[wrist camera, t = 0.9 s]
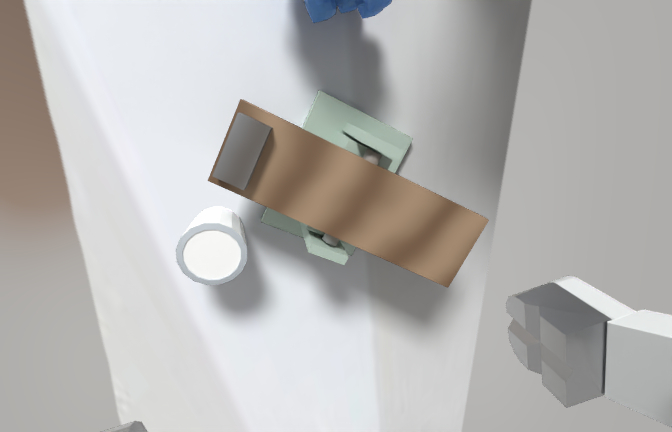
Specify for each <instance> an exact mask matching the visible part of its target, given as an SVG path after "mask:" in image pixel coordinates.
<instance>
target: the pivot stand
mask: <svg viewBox="0 0 672 432" xmlns="http://www.w3.org/2000/svg"><path fill="white" fill-rule="evenodd" d="M302 129H304V130H307V131H309V132H311V133H313V134H315V135H317V136H319V137H321V138H323V139H325V140H327V141H329V142H331V143H333V144H335V145H337V146H339V147H341V148H344V149H346V150H348V151H350V152H352V153H354V154H356V155H358V156H360V157H362V158H363V156H364V154H365V152H366V150H367V148H368V149H371V150H373V151H375V152H377V153H379V154H380V155H382V157H381V159H380V161H379V163H378V166H381V167H383V168H385V169H387V170H389V171H391V172H393V173H395V172H396V170H397V168H398V166H399V165H400V163H401V161H402V159H403V157H404V155H405V153H406V151H407V149H408V147H409V145H410V144H411V142H412V140H413V138H412V137H410V136H408V135H406V134H404V133H402V132H400V131H398V130H396V129H394V128H392V127H390V126H388V125H386V124H384V123H382V122H381V121H379V120H377V119H375V118H373V117H371V116H369V115H367V114H365V113H363V112H361V111H359V110H357V109H355V108H353V107H351V106H349V105H348V104H346V103H344V102H342V101H340V100H338V99H336V98H334V97H332V96H330V95H328V94H326V93H324V92H322V91H320V90H319V91H318V93H317V96H316V98H315V100H314V102H313V105H312V107H311V109H310V111H309V113H308V116H307V118H306V120H305V122H304V125H303V127H302ZM261 222H262V223H265V224H267V225H270V226H273V227H275V228H278V229H281V230H283V231H286V232H289V233H291V234H294V235H297V236H299V237H302V238H304V240H305V243H306V247H307V250H308V253H311V254H314V255H317V256H320V257H322V258H325V259H328V260H331V261H333V262H336V263H339V264H342V265H345V263H346V261H347V259H348V255H350V256H352V254H353V252H354V250H355V248H356V246H353V245H351V244H349V243H347V242H344V241H342V240H340V239H339V241H338V243H337V245H336V246H333V245H330V244H328V243H326V242H325V241H324V240H323V239H322V238H323V236H324V234H325V233H324V232H322V231H320V230H317V229H315V228H313V227H311V226H308V225H306V224H304V223H302V222H299V221H297V220H295V219H293V218H290V217H288V216H286V215H284V214H281V213H279V212H277V211H275V210H272V209H270V208H268V207H266V209H265V211H264V214H263V216H262V218H261ZM347 254H348V255H347Z"/></svg>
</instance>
